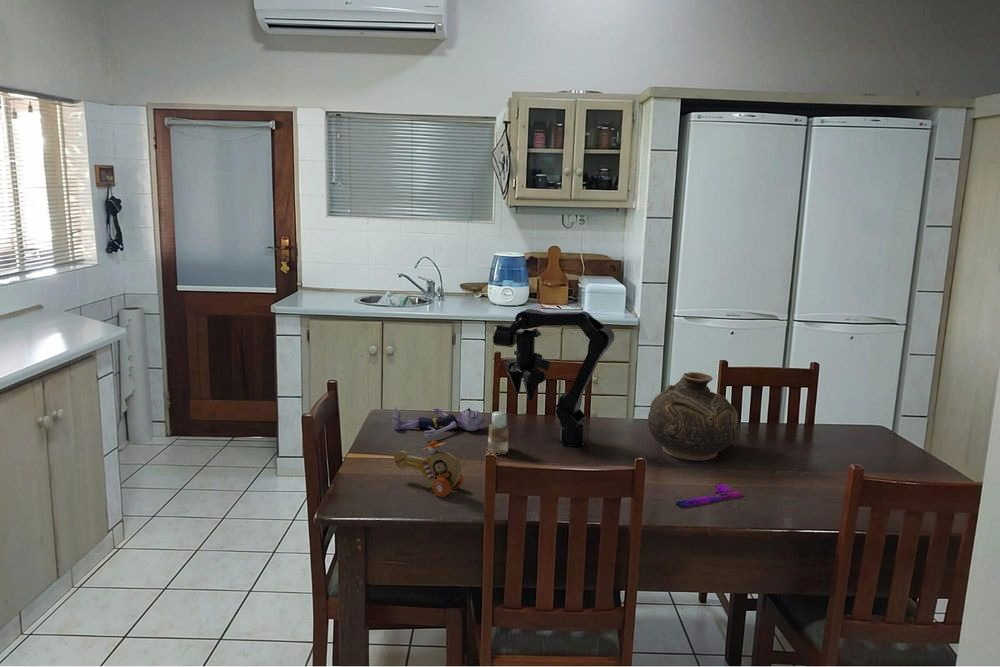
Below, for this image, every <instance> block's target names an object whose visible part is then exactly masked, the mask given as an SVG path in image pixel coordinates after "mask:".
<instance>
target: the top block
mask: <svg viewBox="0 0 1000 667" xmlns="http://www.w3.org/2000/svg"><path fill="white" fill-rule="evenodd" d="M488 438H490V440H491V442H505V441H508V442H509V427H508V426H507V425H506V427H505V428H502V429H497V428H493V427H492V423H489V424H488Z"/></svg>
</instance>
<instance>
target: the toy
mask: <svg viewBox="0 0 1000 667" xmlns="http://www.w3.org/2000/svg"><path fill="white" fill-rule="evenodd" d="M431 409H432V411H431V412H432V413H433V415H439V416H442V417H441V418H435V417H434V418H430V417H425V416H419V417H417V418H414V419H411V420H406V421H405V420H404V421H402V420H401V415H402V414H401V410H400V409H399V408H397V406H395V407H394V412H393V411H392V412H391V418H392V426H393V428H394V430H412V429H414V428H417V427H418V428H419V429H420V428H421V429H422V428H425V429H430V430H424V431H423V433H424V434H423V436H424V437H425V438H426V439H429V438H432V437H436V436H437V435H438V434H442V433H443V432H445V431H449V430H452V429H455V428H457V427H458V426H462V427H463V429H465V430H466V431H469V432H475V431H477V430H479V429H482V426H484V424H485V422H486V420H487V419H486V418H485V417H484V415H483V414H482V413H481V412H480V411H479V410H471V407H468V408H467V409H465V410H463V411H461V412H460V417H459V418H458V417H457V416H455V415H454V414H453V413H450V414H447V413H445V412H444V410H442V408H438V407H437V406H435V407H434V408H431ZM443 416H444V417H443ZM439 427H442V428H439ZM437 428H439V429H437Z"/></svg>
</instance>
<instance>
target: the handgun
mask: <svg viewBox="0 0 1000 667" xmlns="http://www.w3.org/2000/svg"><path fill="white" fill-rule="evenodd" d="M714 488H716V489H717V490H716V491H713V492H712V494H707V495H705V496H700V497H693V498H689V499H682V500H677V501H676V502H675V506H676V507H678V508H679V509H680V508H687V507H694V506H698V505H705V504H710V503H713V502H717V501H723V500H730V499H736V498H741V492H739V491H738V490H736V489H735V490H734V489H731V488H730V487H729V486H728V485H726V484H724V483H718V484H717V483H716V484H715V486H714Z"/></svg>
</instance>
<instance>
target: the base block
mask: <svg viewBox="0 0 1000 667" xmlns="http://www.w3.org/2000/svg"><path fill="white" fill-rule="evenodd" d="M487 440H488V441H487V452H488V451H489V450H491V451H494V450H495V452H496V451H497V452H498V453H500V452H508V453H509V440H508V441H505V442H491V440H490V438H489V437H488V438H487Z"/></svg>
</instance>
